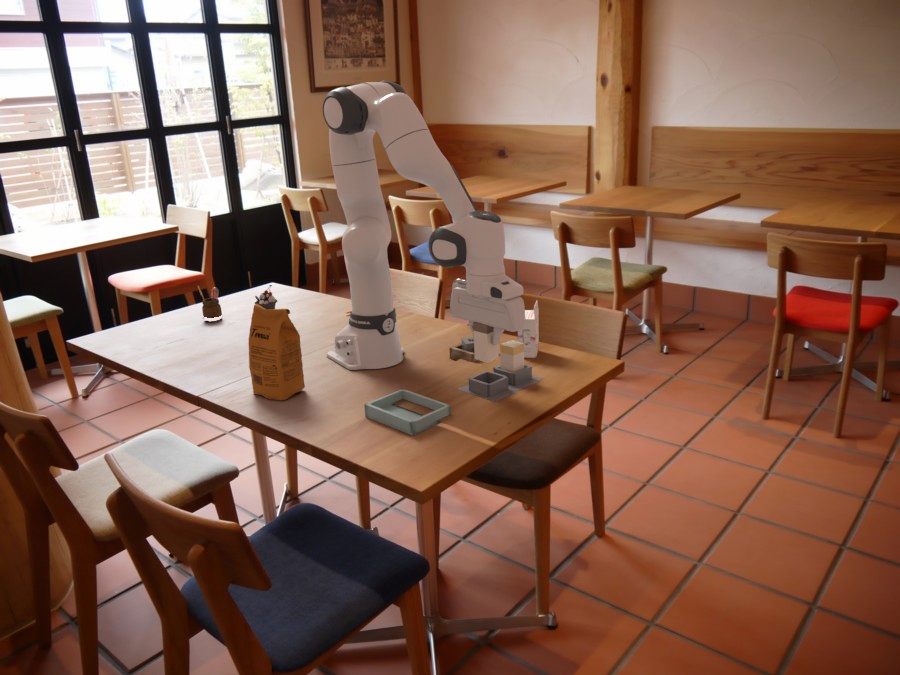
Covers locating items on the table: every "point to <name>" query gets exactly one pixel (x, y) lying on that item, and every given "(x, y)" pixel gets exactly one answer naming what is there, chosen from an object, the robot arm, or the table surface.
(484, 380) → the block
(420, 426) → the tray
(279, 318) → the coffee package
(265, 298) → the sundae
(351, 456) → the table surface
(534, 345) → the ink cartridge box
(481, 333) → the block
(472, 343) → the dice cube
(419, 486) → the table surface
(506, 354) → the block
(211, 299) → the utensil holder
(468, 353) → the dice corral
